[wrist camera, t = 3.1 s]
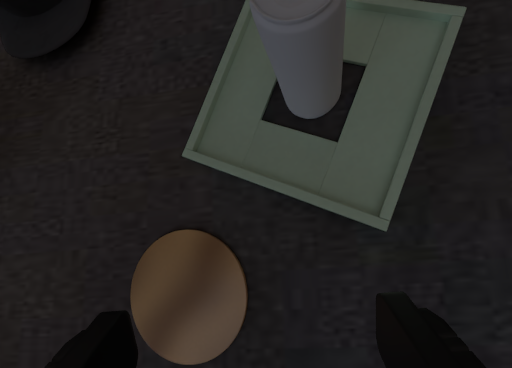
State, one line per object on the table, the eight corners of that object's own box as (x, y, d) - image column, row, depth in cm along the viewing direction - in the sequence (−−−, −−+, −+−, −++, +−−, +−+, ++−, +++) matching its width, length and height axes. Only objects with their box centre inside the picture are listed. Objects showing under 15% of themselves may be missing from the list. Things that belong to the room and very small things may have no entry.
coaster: (115, 323, 26) (112, 325, 26) (161, 211, 27) (159, 211, 26) (217, 389, 23) (216, 392, 22) (267, 259, 23) (266, 260, 23)
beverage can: (344, 69, 24) (354, -76, 13) (337, 123, 24) (341, 21, 12) (288, 68, 26) (252, -63, 14) (280, 119, 25) (237, 25, 14)
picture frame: (187, 159, 27) (181, 155, 26) (257, -11, 28) (253, -21, 27) (383, 231, 21) (386, 231, 20) (460, 18, 22) (467, 6, 21)
